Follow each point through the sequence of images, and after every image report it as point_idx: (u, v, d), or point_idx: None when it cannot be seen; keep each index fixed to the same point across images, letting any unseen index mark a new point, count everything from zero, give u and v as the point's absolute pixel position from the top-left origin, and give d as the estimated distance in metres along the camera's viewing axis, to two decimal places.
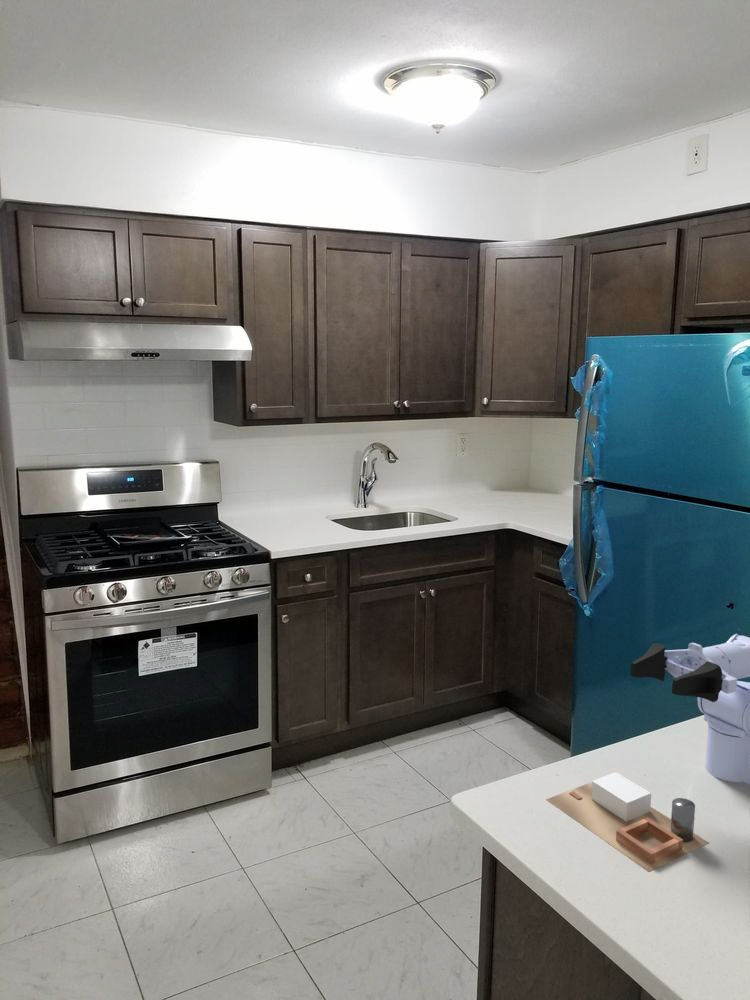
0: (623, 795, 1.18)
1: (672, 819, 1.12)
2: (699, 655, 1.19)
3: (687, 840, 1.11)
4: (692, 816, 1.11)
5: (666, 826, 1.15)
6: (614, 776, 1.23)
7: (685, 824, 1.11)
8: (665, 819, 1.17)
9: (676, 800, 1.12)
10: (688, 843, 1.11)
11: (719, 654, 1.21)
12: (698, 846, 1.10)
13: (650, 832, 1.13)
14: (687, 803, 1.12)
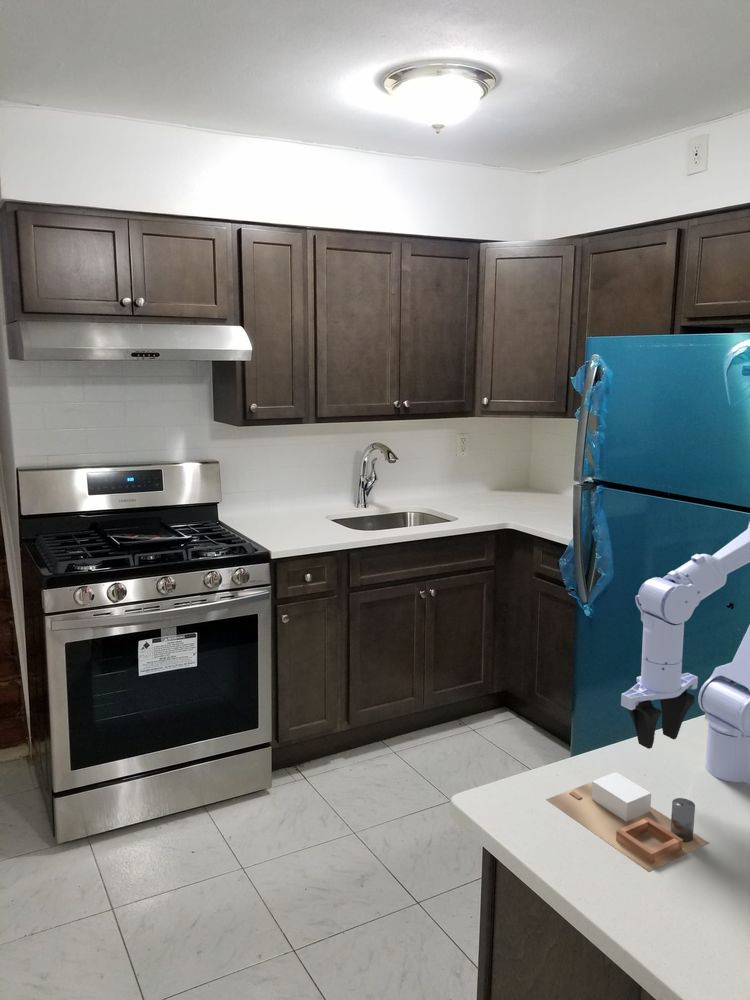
0: (623, 795, 1.18)
1: (672, 819, 1.12)
2: None
3: (687, 840, 1.11)
4: (692, 816, 1.11)
5: (666, 826, 1.15)
6: (614, 776, 1.23)
7: (685, 824, 1.11)
8: (665, 819, 1.17)
9: (676, 800, 1.12)
10: (688, 843, 1.11)
11: None
12: (698, 846, 1.10)
13: (650, 832, 1.13)
14: (687, 803, 1.12)
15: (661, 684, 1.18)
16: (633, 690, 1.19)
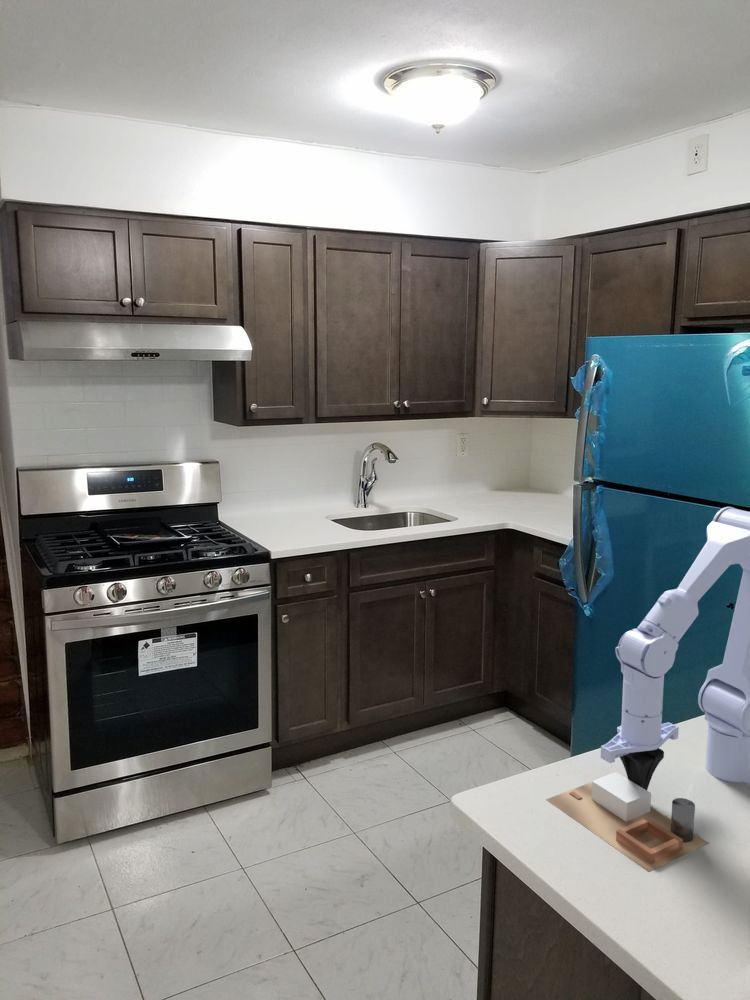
0: (623, 795, 1.18)
1: (672, 819, 1.12)
2: None
3: (687, 840, 1.11)
4: (692, 816, 1.11)
5: (666, 826, 1.15)
6: (614, 776, 1.23)
7: (685, 824, 1.11)
8: (665, 819, 1.17)
9: (676, 800, 1.12)
10: (688, 843, 1.11)
11: None
12: (698, 846, 1.10)
13: (650, 832, 1.13)
14: (687, 803, 1.12)
15: (641, 736, 1.17)
16: (613, 742, 1.19)
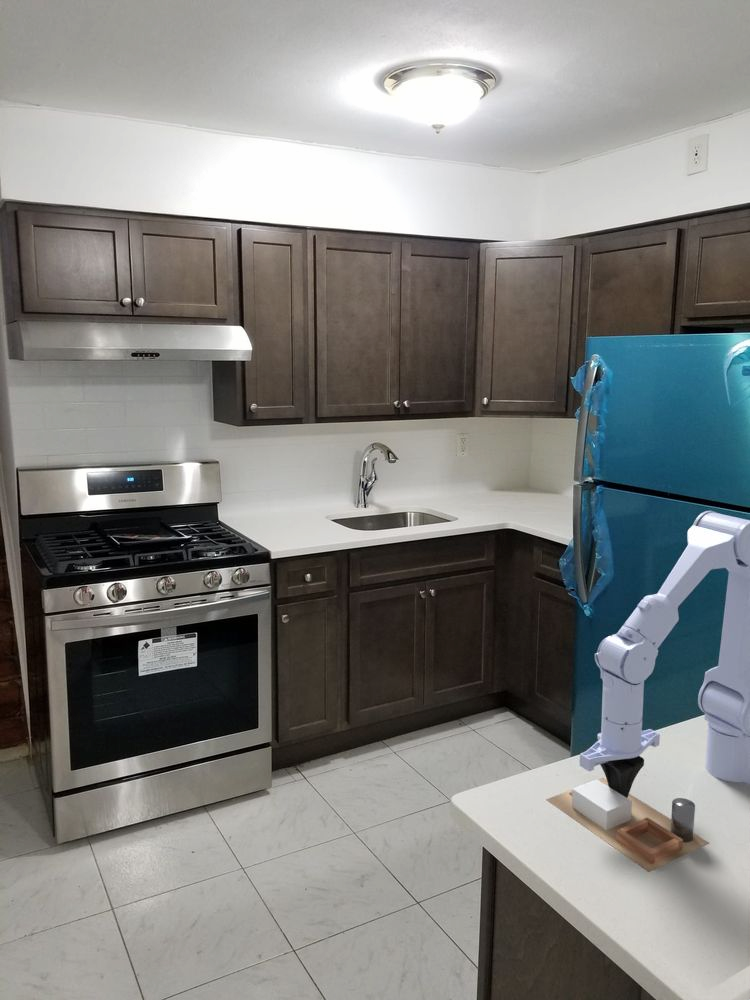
0: (603, 803, 1.16)
1: (672, 819, 1.12)
2: None
3: (687, 840, 1.11)
4: (692, 816, 1.11)
5: (666, 826, 1.15)
6: (595, 783, 1.21)
7: (685, 824, 1.11)
8: (665, 819, 1.17)
9: (676, 800, 1.12)
10: (688, 843, 1.11)
11: None
12: (698, 846, 1.10)
13: (650, 832, 1.13)
14: (687, 803, 1.12)
15: (620, 744, 1.15)
16: (592, 749, 1.17)
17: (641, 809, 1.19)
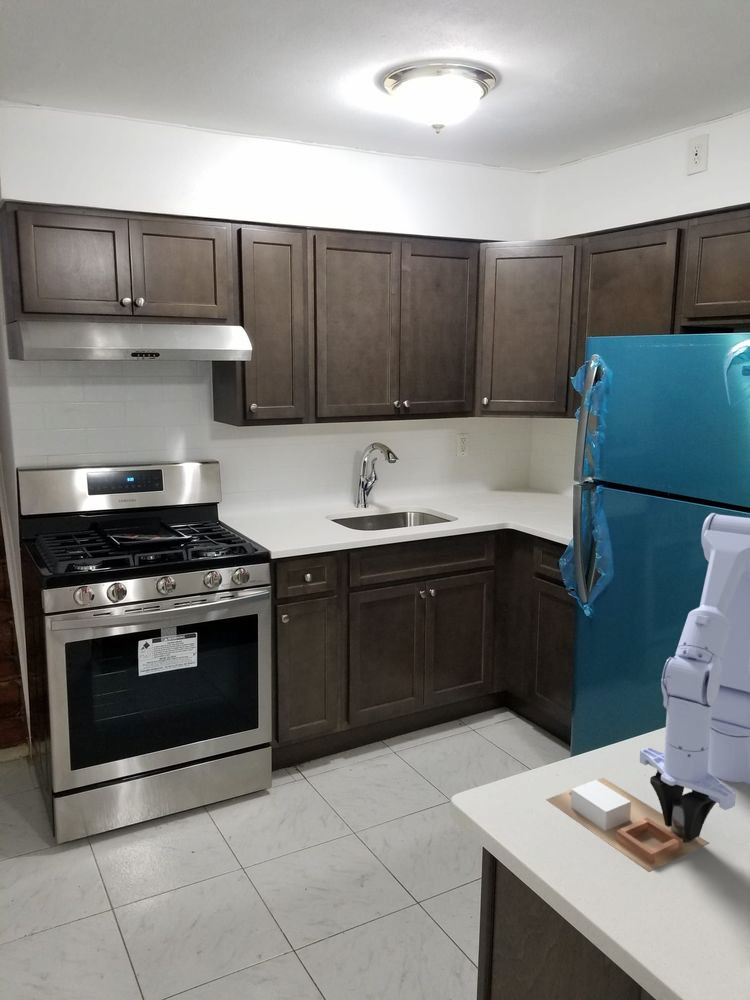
0: (602, 803, 1.16)
1: (672, 819, 1.12)
2: (678, 785, 1.09)
3: (687, 840, 1.11)
4: None
5: (666, 826, 1.15)
6: (594, 784, 1.21)
7: None
8: None
9: (676, 800, 1.12)
10: (688, 843, 1.11)
11: (684, 757, 1.08)
12: (698, 846, 1.10)
13: (650, 832, 1.13)
14: None
15: None
16: (709, 789, 1.06)
17: (641, 809, 1.19)
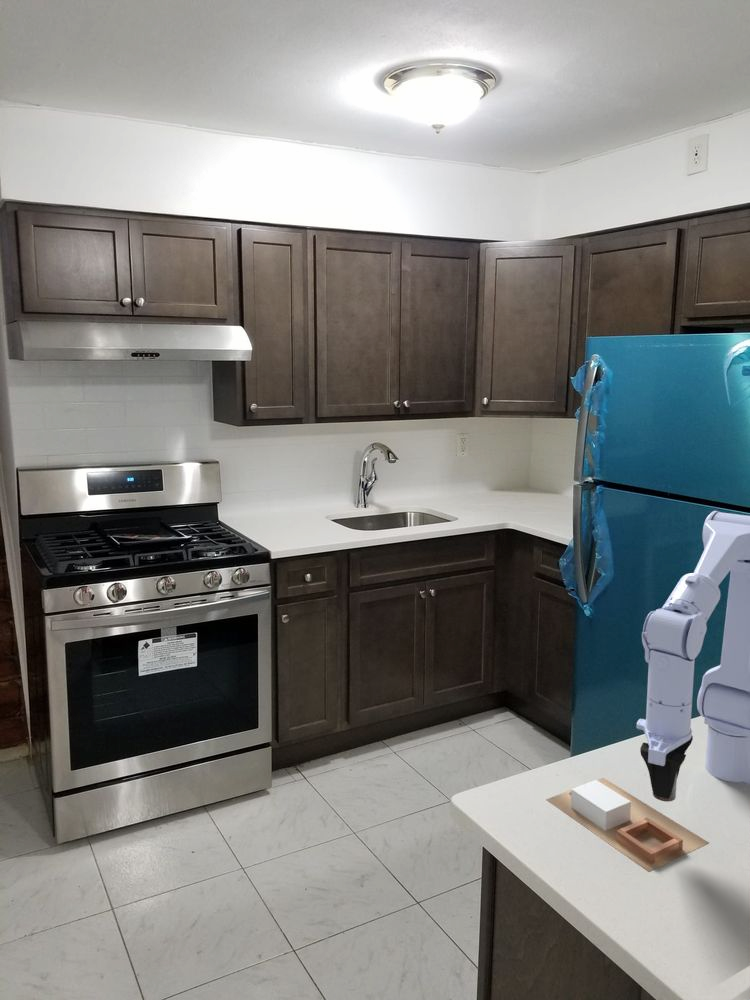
0: (602, 803, 1.16)
1: None
2: (645, 732, 1.09)
3: (658, 797, 1.09)
4: None
5: (666, 826, 1.15)
6: (594, 784, 1.21)
7: None
8: (665, 819, 1.17)
9: None
10: (688, 843, 1.11)
11: (648, 705, 1.07)
12: (698, 846, 1.10)
13: (650, 832, 1.13)
14: None
15: (680, 728, 1.05)
16: (652, 741, 1.05)
17: (641, 809, 1.19)
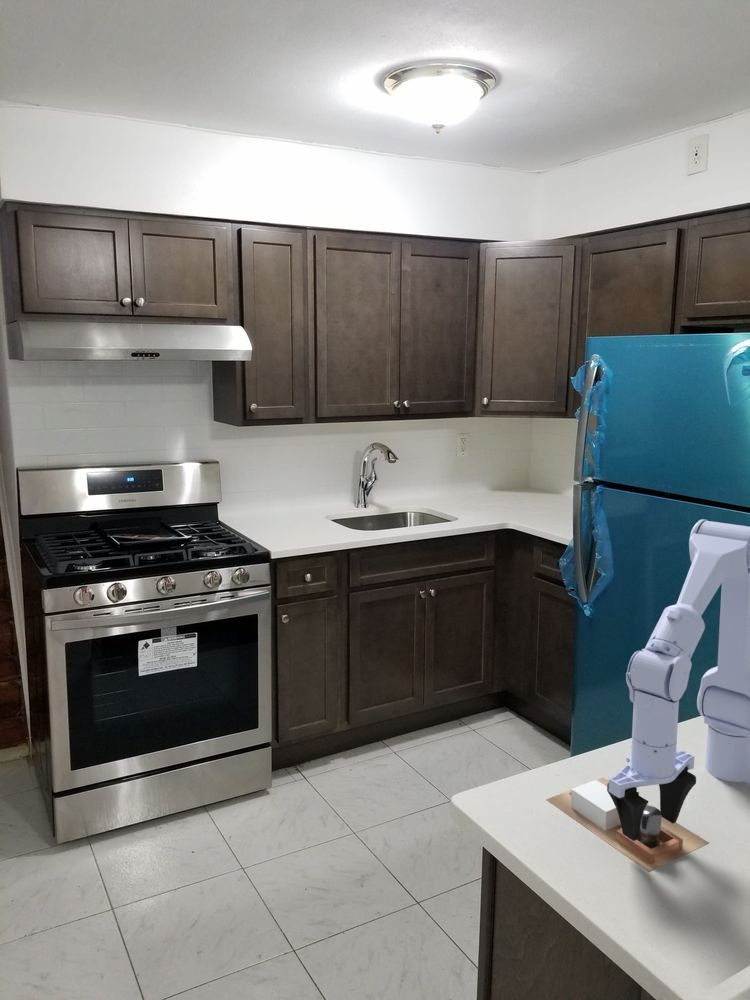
0: (602, 803, 1.16)
1: None
2: None
3: None
4: (641, 823, 1.09)
5: (666, 826, 1.15)
6: (594, 784, 1.21)
7: None
8: (665, 819, 1.17)
9: (655, 809, 1.10)
10: (688, 843, 1.11)
11: None
12: (698, 846, 1.10)
13: None
14: (652, 815, 1.09)
15: (653, 768, 1.06)
16: (622, 774, 1.07)
17: None
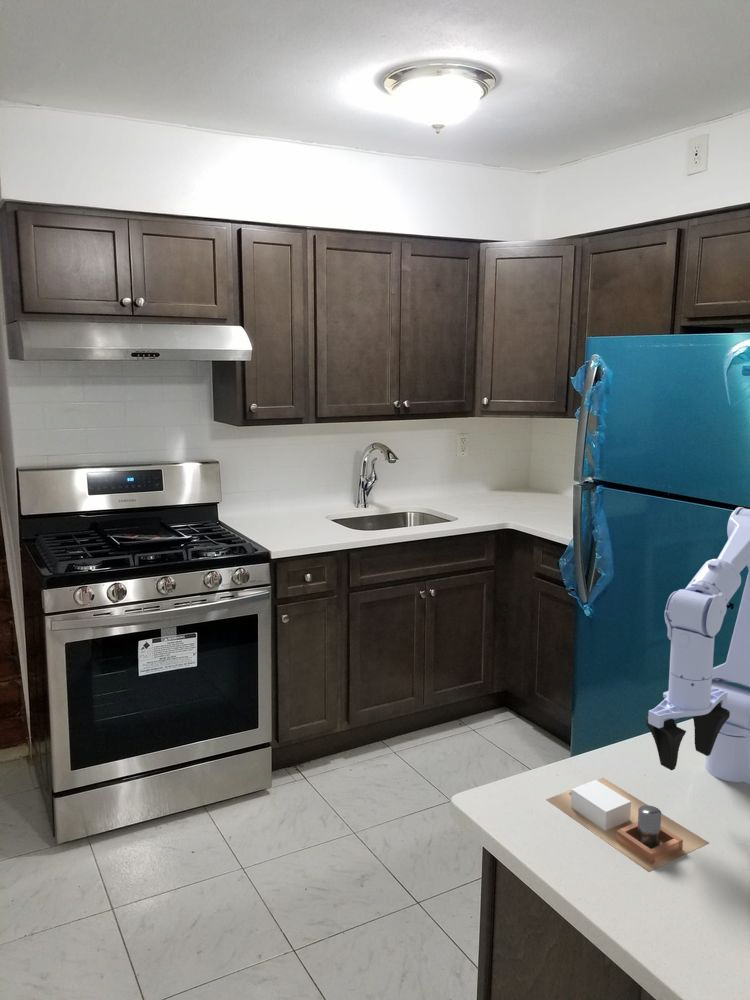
0: (602, 803, 1.16)
1: None
2: None
3: None
4: (641, 821, 1.10)
5: (666, 826, 1.15)
6: (594, 784, 1.21)
7: None
8: (665, 819, 1.17)
9: (655, 809, 1.10)
10: (688, 843, 1.11)
11: (670, 676, 1.16)
12: (698, 846, 1.10)
13: None
14: (651, 814, 1.09)
15: (690, 701, 1.12)
16: (661, 707, 1.14)
17: None
